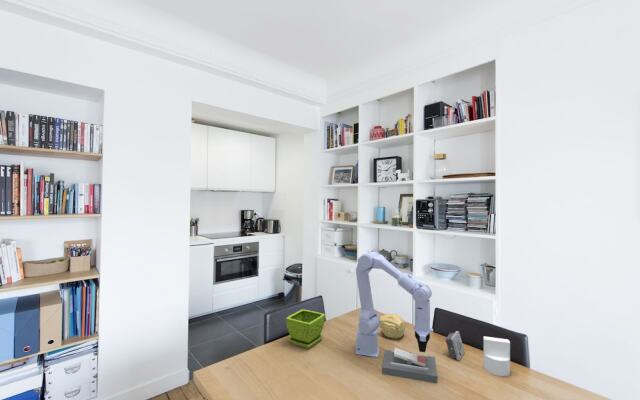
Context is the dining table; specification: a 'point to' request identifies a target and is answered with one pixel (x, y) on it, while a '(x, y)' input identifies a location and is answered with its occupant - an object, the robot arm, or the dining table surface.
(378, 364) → the dining table surface
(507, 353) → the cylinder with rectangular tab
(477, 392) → the dining table surface
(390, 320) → the sculpture
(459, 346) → the grey stone block
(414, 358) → the rocker paddle
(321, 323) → the flower pot
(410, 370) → the switch panel
